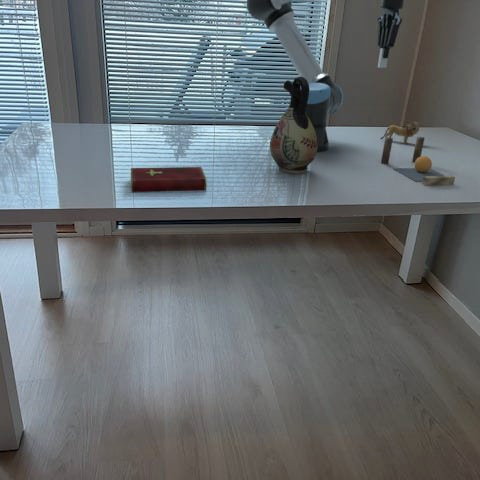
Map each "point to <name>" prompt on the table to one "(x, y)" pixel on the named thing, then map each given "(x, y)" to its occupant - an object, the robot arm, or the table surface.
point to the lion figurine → (403, 131)
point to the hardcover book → (167, 179)
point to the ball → (423, 164)
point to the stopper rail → (438, 180)
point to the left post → (386, 150)
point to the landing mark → (417, 173)
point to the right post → (418, 148)
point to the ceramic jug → (294, 132)
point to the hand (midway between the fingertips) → (381, 67)
